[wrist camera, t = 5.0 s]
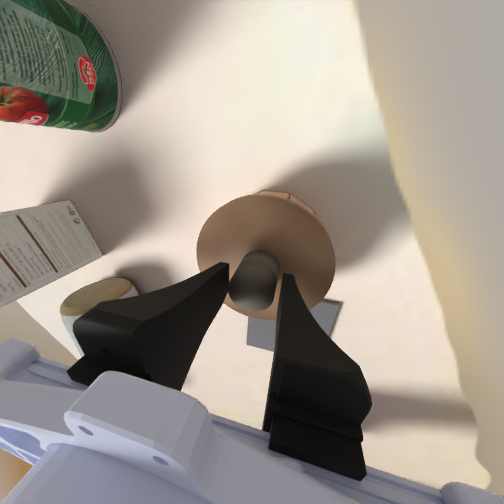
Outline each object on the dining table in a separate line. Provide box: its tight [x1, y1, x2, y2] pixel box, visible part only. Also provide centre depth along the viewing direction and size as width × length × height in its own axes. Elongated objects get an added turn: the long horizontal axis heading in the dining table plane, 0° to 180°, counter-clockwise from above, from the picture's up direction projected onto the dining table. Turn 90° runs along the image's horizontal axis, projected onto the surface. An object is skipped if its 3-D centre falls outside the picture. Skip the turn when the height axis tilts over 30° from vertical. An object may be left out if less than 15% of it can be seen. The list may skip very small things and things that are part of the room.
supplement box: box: [0, 200, 103, 307], centre depth 18 cm, size 7×7×13 cm
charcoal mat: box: [247, 300, 340, 352], centre depth 22 cm, size 9×9×1 cm
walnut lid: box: [197, 194, 335, 320], centre depth 13 cm, size 10×10×4 cm
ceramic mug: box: [60, 278, 139, 357], centre depth 24 cm, size 11×8×8 cm
